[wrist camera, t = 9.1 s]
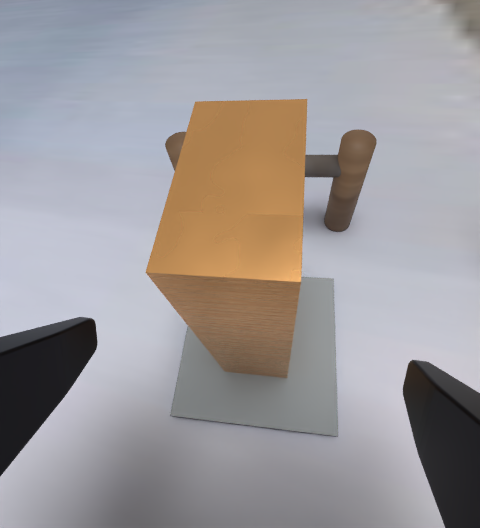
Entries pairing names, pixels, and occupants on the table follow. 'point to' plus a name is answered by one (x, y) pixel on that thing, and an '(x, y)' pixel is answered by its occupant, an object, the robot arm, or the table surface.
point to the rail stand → (326, 172)
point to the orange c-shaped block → (237, 231)
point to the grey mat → (266, 387)
